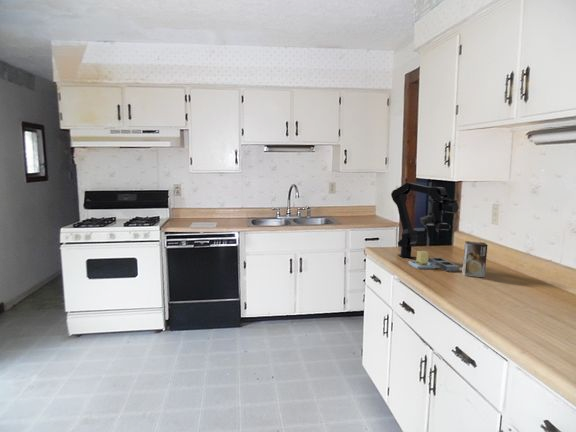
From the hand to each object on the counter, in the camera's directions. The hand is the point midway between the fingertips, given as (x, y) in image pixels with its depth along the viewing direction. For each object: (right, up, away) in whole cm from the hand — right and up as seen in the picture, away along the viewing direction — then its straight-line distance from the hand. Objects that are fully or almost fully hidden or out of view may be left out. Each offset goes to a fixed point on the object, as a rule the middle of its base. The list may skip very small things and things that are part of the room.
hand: (434, 239), depth 209 cm
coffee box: (+13, -16, -17) cm, 27 cm away
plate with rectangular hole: (+3, -14, -3) cm, 15 cm away
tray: (-8, -13, -4) cm, 16 cm away
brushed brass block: (-8, -13, -4) cm, 16 cm away
